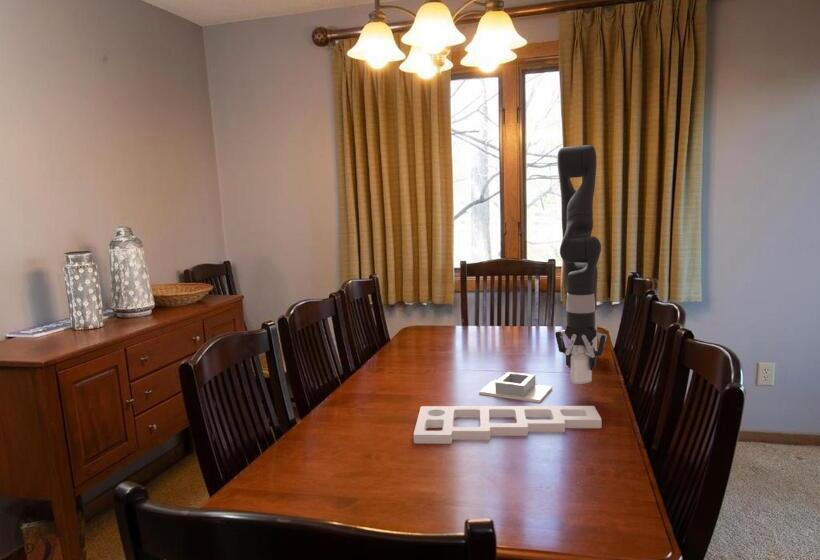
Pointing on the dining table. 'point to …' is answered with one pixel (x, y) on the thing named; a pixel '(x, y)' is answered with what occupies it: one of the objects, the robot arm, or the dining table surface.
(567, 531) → the dining table surface
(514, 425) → the holder
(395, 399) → the dining table surface
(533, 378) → the holder stand
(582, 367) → the eye dropper bottle
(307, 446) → the dining table surface
